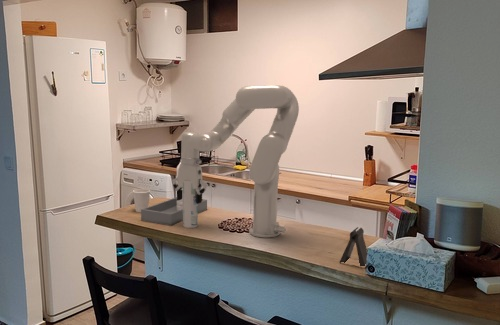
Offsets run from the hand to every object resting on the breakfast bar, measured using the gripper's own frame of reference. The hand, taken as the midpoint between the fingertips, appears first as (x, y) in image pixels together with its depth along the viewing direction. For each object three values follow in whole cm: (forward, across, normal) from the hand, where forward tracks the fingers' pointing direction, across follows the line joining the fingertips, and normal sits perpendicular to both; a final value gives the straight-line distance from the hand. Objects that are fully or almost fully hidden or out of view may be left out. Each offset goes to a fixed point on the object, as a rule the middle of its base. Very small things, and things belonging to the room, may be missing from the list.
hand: (189, 201), depth 186 cm
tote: (+11, +14, -11) cm, 21 cm away
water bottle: (+10, +14, -18) cm, 25 cm away
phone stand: (+9, -73, +9) cm, 74 cm away
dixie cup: (+12, +32, -9) cm, 35 cm away
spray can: (+11, -1, 0) cm, 11 cm away
